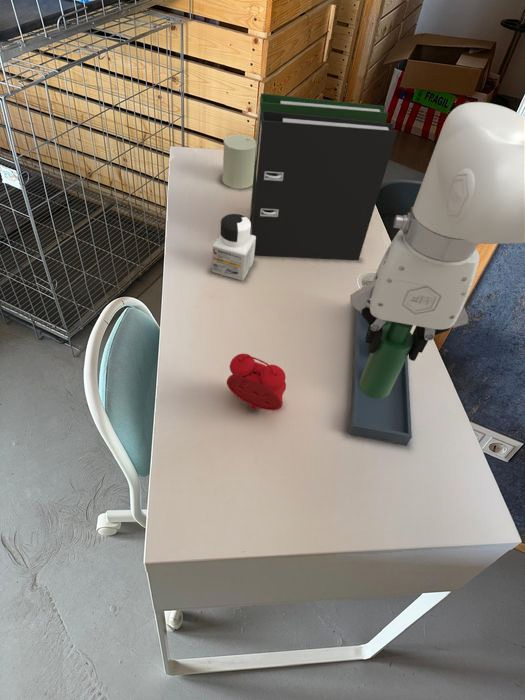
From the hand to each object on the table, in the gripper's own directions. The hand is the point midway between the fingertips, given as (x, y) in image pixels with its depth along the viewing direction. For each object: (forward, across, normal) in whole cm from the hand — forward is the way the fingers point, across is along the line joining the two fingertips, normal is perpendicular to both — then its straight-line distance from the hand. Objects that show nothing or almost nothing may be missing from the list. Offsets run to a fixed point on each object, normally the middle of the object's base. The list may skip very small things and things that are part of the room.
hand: (391, 348), depth 64 cm
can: (+26, -35, +84) cm, 94 cm away
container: (+26, -29, +43) cm, 58 cm away
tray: (+26, +6, +20) cm, 33 cm away
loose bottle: (+8, 0, 0) cm, 8 cm away
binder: (+26, -13, +58) cm, 65 cm away
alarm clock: (+26, -17, +5) cm, 31 cm away
